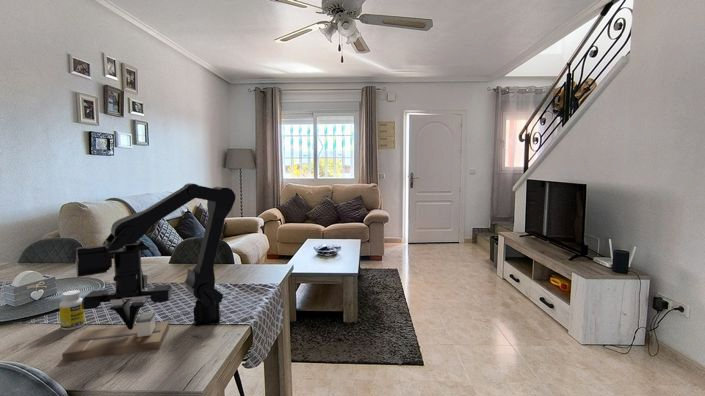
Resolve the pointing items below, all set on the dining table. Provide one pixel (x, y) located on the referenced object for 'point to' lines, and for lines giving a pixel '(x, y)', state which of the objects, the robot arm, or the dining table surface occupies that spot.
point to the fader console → (114, 342)
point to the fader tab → (145, 324)
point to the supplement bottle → (71, 310)
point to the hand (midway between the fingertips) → (131, 328)
